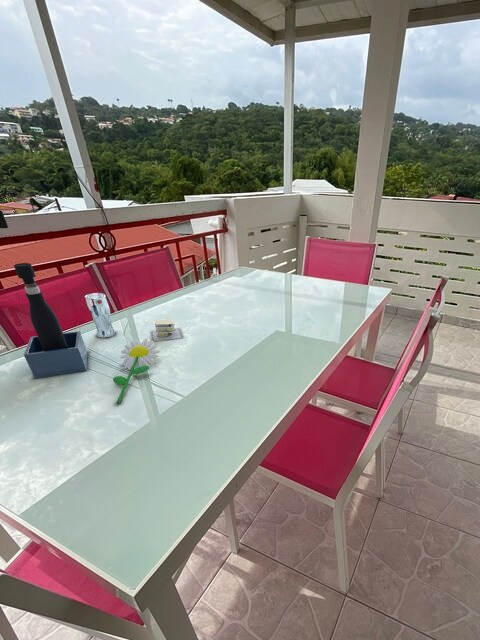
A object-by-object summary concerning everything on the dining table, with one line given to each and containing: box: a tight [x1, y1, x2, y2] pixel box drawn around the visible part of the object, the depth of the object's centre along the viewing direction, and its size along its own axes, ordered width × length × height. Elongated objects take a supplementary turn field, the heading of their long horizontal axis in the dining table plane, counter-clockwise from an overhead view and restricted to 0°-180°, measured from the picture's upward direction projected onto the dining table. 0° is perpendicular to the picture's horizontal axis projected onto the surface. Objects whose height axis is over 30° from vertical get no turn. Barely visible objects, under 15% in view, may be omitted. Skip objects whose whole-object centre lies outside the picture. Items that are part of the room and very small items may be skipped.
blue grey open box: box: [23, 330, 88, 379], centre depth 105 cm, size 14×14×8 cm
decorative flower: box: [112, 338, 161, 404], centre depth 103 cm, size 13×5×30 cm
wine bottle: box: [13, 262, 68, 351], centre depth 98 cm, size 6×6×30 cm
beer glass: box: [84, 292, 116, 338], centre depth 123 cm, size 7×7×15 cm
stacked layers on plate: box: [151, 318, 182, 342], centre depth 128 cm, size 10×9×6 cm
